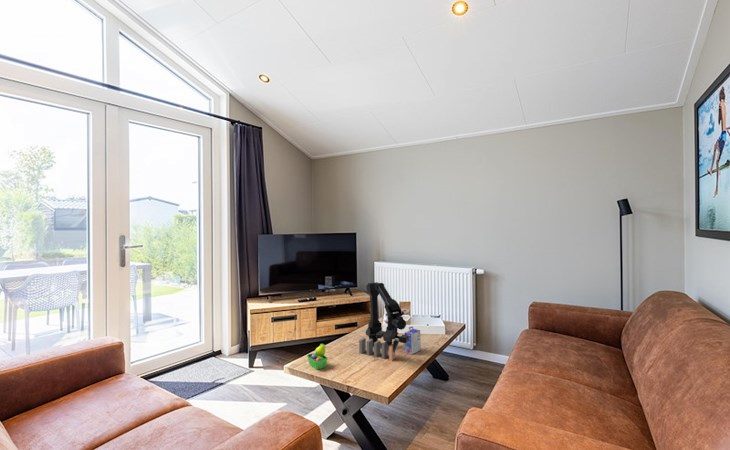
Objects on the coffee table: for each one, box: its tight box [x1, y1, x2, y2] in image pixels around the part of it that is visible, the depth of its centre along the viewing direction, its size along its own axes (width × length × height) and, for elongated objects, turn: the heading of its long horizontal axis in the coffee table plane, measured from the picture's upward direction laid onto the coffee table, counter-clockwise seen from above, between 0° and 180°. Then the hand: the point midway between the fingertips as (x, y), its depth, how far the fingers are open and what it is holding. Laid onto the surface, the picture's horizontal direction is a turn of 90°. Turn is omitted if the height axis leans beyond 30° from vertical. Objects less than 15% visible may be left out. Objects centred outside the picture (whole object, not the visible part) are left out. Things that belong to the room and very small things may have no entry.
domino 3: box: [373, 339, 381, 358], centre depth 199 cm, size 5×2×8 cm, turn 150°
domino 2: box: [366, 339, 374, 356], centre depth 202 cm, size 5×2×8 cm, turn 150°
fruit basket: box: [306, 343, 328, 371], centre depth 186 cm, size 11×9×11 cm
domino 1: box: [358, 337, 367, 355], centre depth 204 cm, size 5×2×8 cm, turn 150°
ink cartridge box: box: [404, 326, 422, 355], centre depth 205 cm, size 10×6×14 cm, turn 137°
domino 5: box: [388, 343, 396, 362], centre depth 194 cm, size 5×2×8 cm, turn 150°
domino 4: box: [381, 341, 389, 360], centre depth 197 cm, size 5×2×8 cm, turn 150°
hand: (392, 351), depth 195 cm, fingers closed on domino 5, 2 cm apart
